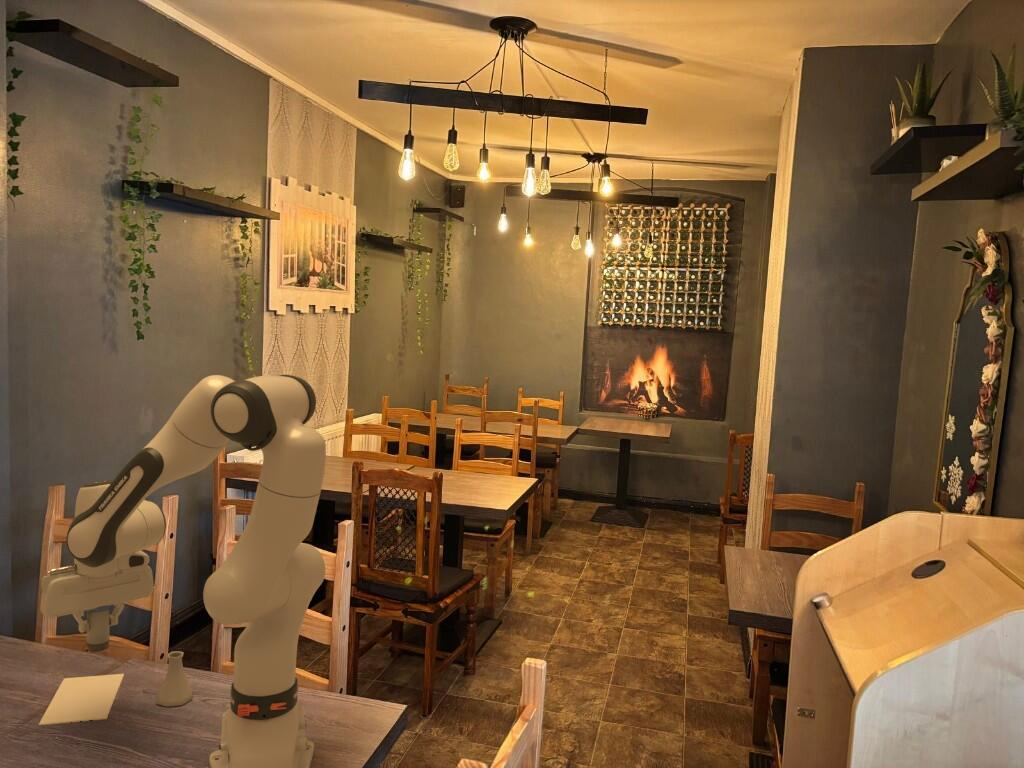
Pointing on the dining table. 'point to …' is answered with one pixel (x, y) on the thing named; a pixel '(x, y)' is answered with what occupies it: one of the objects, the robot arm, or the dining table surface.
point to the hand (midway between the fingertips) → (98, 627)
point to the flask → (175, 683)
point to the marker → (98, 628)
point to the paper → (83, 699)
